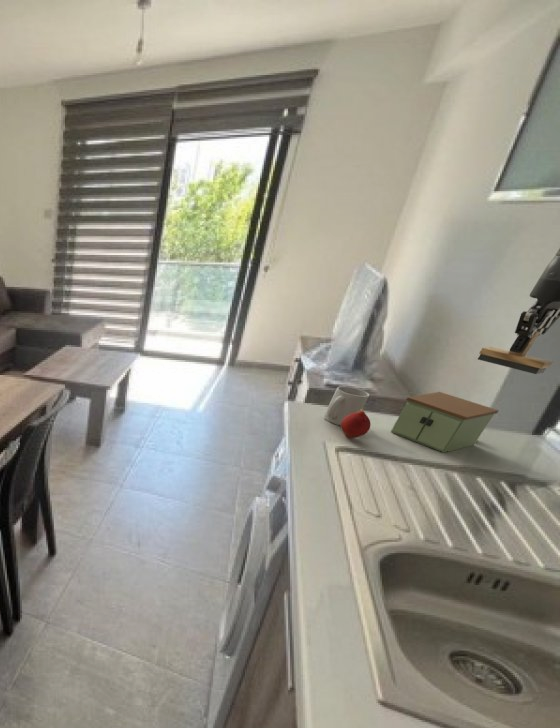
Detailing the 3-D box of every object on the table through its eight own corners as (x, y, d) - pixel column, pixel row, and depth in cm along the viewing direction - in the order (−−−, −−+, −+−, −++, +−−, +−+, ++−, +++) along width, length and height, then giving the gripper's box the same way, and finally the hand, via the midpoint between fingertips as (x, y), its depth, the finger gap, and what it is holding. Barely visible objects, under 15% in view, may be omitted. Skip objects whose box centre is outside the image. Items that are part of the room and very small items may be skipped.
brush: (545, 373, 117) (570, 337, 112) (537, 374, 115) (561, 337, 111) (483, 358, 126) (504, 323, 122) (475, 359, 125) (496, 324, 120)
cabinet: (475, 445, 124) (499, 410, 119) (442, 454, 118) (465, 417, 114) (420, 424, 134) (439, 391, 129) (386, 431, 129) (405, 397, 124)
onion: (361, 437, 125) (376, 409, 121) (363, 445, 120) (378, 416, 116) (334, 430, 127) (348, 403, 123) (336, 438, 123) (350, 410, 119)
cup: (360, 425, 132) (375, 394, 127) (337, 429, 128) (352, 398, 124) (333, 414, 137) (347, 385, 133) (310, 418, 134) (324, 388, 129)
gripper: (572, 281, 105) (523, 358, 113) (601, 281, 110) (552, 354, 118) (527, 276, 111) (484, 348, 120) (556, 275, 116) (512, 345, 124)
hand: (518, 351), depth 119 cm, fingers closed on brush, 2 cm apart
